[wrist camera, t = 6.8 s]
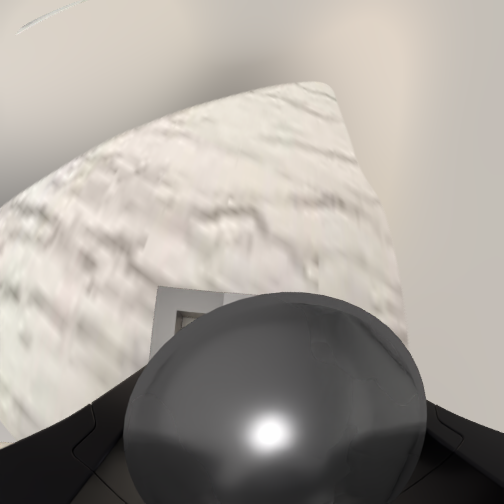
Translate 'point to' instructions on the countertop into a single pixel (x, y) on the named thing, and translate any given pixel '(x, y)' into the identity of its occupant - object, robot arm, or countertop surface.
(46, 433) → the robot arm
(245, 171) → the countertop surface
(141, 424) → the dark grey flanged cylinder
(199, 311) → the u-shaped bracket
